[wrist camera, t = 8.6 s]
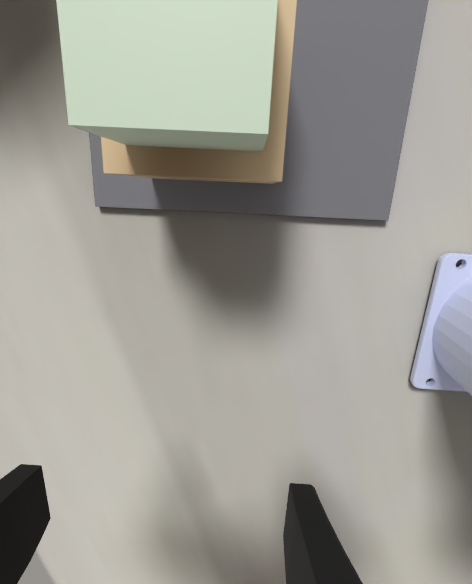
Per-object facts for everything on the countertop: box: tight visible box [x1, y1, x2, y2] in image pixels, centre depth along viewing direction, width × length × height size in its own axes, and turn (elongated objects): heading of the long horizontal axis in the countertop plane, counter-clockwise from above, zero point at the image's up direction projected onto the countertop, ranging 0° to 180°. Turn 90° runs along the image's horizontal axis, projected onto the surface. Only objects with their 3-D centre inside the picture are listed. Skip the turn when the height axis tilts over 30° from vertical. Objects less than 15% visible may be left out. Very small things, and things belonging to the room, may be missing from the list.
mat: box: [89, 0, 428, 220], centre depth 14 cm, size 15×17×1 cm
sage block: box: [56, 0, 278, 151], centre depth 8 cm, size 4×4×4 cm
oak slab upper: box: [101, 0, 297, 183], centre depth 11 cm, size 6×6×3 cm
